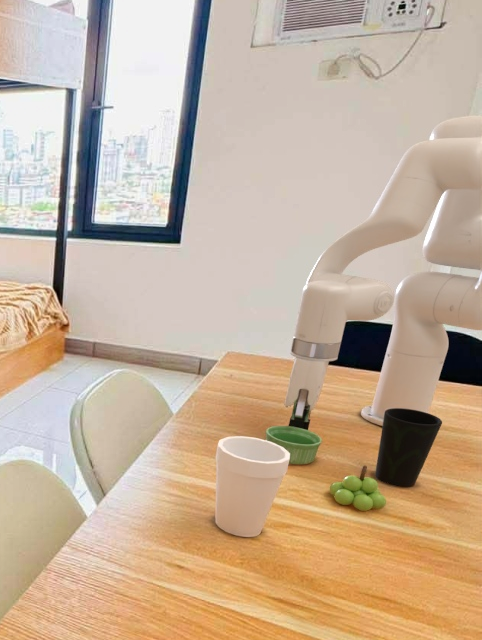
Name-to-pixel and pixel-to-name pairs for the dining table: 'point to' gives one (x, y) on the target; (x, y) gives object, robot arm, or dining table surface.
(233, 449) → the foam cup
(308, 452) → the ramekin
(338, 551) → the dining table surface
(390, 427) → the cup
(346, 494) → the grapes
